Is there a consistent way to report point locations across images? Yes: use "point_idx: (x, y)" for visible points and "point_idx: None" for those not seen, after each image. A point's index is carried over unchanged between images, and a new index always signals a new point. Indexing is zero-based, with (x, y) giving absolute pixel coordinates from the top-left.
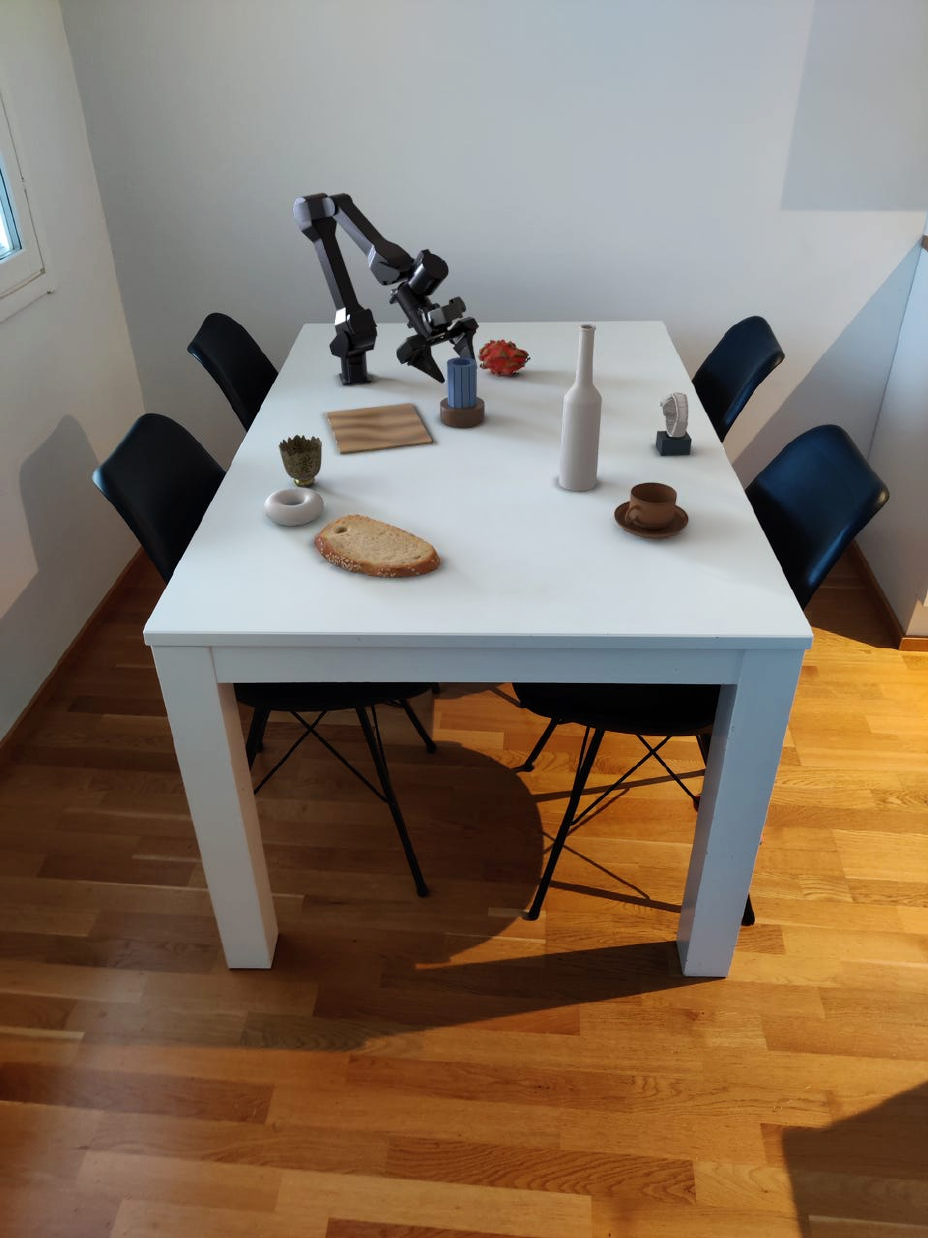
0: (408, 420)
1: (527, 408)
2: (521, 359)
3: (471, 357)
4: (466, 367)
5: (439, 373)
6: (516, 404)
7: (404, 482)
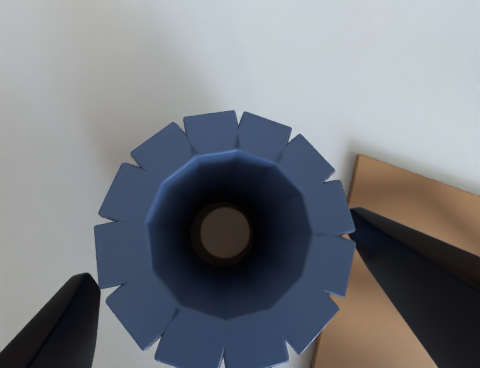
0: (361, 306)
1: (14, 191)
2: None
3: (39, 355)
4: (260, 118)
5: (405, 226)
6: (15, 236)
7: (468, 47)
